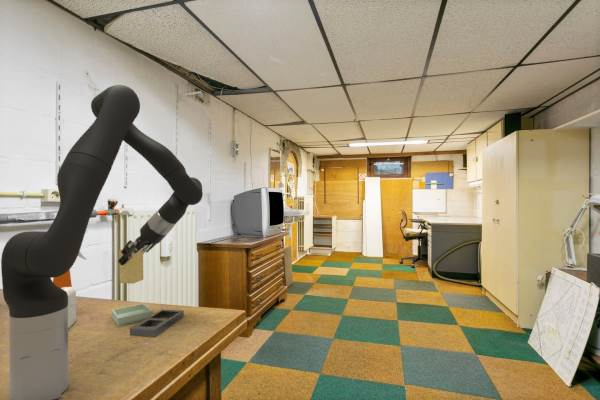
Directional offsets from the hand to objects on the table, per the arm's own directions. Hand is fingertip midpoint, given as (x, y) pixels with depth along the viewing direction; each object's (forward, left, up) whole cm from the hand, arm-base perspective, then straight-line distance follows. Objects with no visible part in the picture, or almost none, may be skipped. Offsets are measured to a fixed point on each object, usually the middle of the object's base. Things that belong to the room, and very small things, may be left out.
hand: (126, 261), depth 104 cm
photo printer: (+4, +17, -19) cm, 26 cm away
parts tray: (-1, -1, -19) cm, 19 cm away
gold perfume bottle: (-1, -1, -7) cm, 7 cm away
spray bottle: (+14, +15, -19) cm, 28 cm away
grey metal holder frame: (-14, -6, -19) cm, 24 cm away
